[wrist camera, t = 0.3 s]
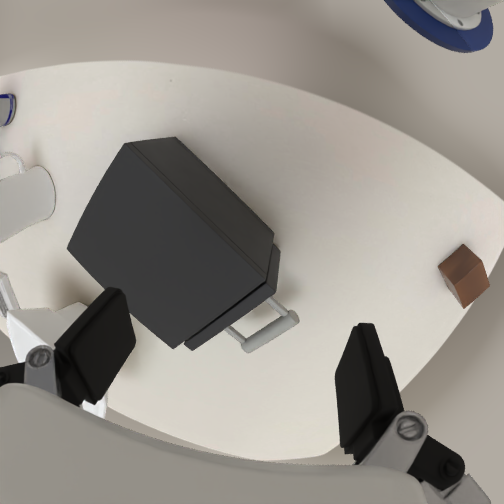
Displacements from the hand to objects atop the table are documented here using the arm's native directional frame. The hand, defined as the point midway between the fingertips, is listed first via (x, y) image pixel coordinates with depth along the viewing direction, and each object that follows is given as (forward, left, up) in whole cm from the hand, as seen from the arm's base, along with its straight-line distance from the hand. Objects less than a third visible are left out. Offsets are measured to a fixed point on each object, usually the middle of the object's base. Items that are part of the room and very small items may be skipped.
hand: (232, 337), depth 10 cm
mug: (+21, -27, -19) cm, 39 cm away
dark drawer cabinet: (+8, -5, -19) cm, 21 cm away
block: (-13, +21, -19) cm, 31 cm away
